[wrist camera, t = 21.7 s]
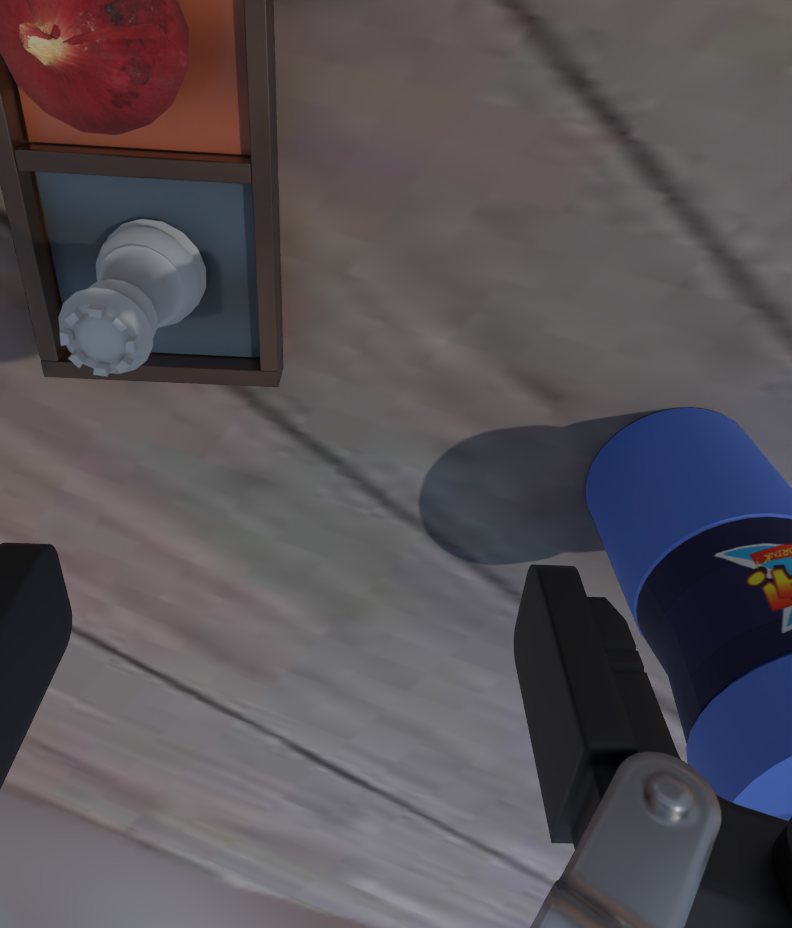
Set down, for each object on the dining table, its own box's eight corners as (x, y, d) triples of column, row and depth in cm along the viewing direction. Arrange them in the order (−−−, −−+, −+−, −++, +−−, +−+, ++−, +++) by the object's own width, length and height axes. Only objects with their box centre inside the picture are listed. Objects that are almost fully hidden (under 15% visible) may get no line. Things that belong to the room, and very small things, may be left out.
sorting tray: (-47, -148, 24) (-80, -158, 23) (270, -122, 25) (262, -131, 23) (61, 357, 34) (43, 377, 33) (283, 367, 35) (278, 387, 33)
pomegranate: (163, -92, 25) (84, -123, 18) (233, 89, 28) (187, 120, 21) (13, -32, 25) (-116, -40, 19) (97, 137, 28) (11, 182, 22)
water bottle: (622, 389, 36) (960, 940, 15) (789, 423, 37) (1311, 973, 17) (558, 531, 41) (746, 1094, 20) (707, 557, 42) (1028, 1110, 22)
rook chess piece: (229, 290, 32) (189, 370, 25) (146, 332, 33) (87, 419, 26) (169, 196, 30) (109, 256, 23) (82, 244, 31) (0, 315, 24)
